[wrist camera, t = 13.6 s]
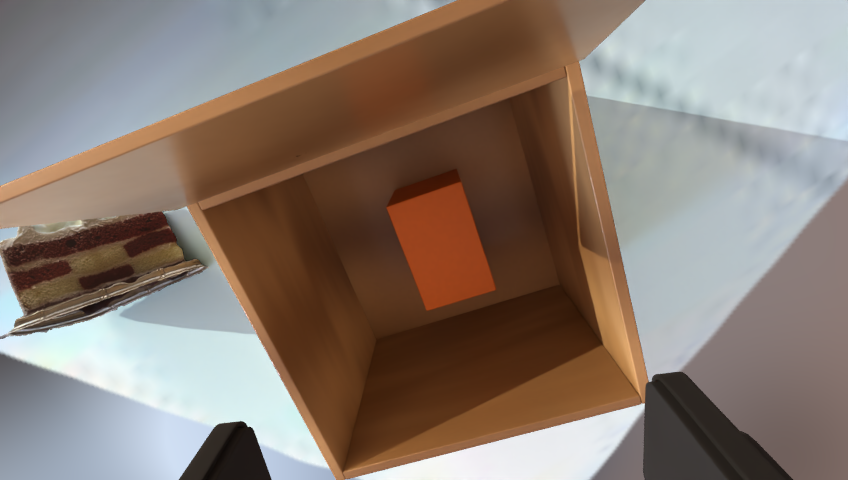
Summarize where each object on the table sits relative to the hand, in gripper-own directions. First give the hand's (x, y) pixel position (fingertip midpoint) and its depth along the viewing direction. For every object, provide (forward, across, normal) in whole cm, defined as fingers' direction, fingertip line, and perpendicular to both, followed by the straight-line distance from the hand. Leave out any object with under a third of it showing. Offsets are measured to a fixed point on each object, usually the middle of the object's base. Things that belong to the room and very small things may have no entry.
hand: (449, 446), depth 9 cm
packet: (+20, 0, 0) cm, 20 cm away
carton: (+20, 0, 0) cm, 20 cm away
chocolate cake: (+20, +24, -1) cm, 31 cm away
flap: (+3, +2, -8) cm, 8 cm away
